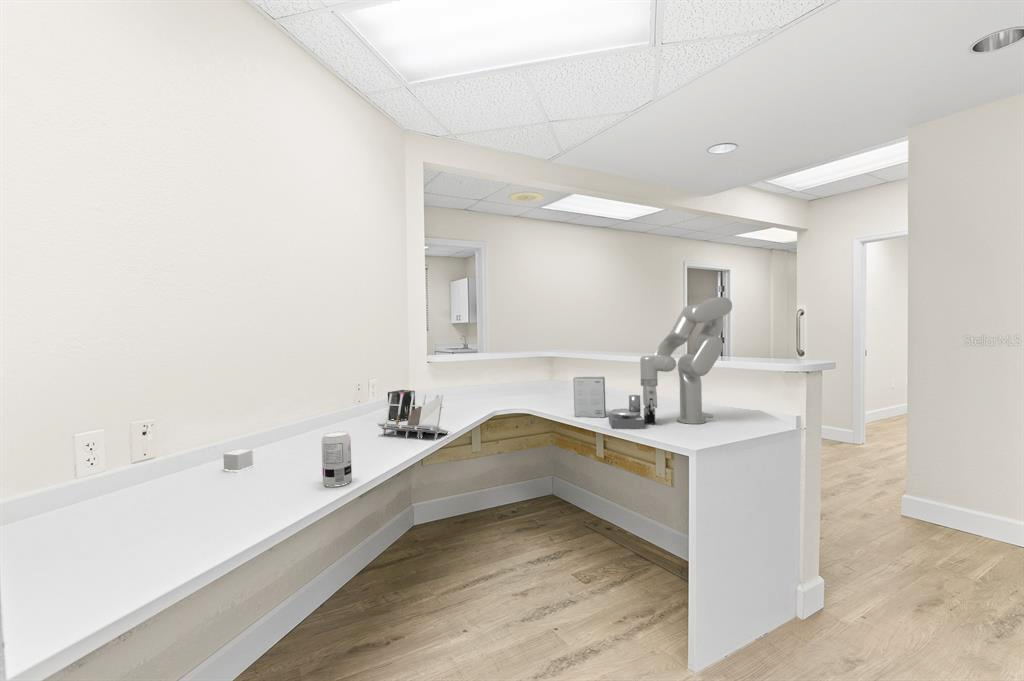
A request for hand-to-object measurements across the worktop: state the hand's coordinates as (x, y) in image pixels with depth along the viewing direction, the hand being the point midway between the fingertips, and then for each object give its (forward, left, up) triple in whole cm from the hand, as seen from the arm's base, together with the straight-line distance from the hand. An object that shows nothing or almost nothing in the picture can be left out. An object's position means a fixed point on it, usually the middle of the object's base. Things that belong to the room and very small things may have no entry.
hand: (649, 421), depth 210 cm
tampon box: (+123, -10, -1) cm, 124 cm away
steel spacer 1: (+7, +5, +6) cm, 11 cm away
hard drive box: (+26, -18, -1) cm, 32 cm away
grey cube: (+149, +75, -1) cm, 167 cm away
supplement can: (+107, +87, -1) cm, 138 cm away
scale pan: (+11, +5, +3) cm, 13 cm away
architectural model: (+105, +25, -1) cm, 108 cm away
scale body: (+11, +5, -1) cm, 12 cm away
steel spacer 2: (0, 0, -1) cm, 1 cm away
